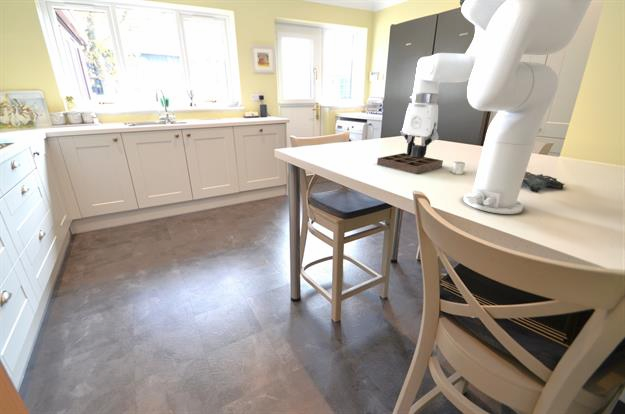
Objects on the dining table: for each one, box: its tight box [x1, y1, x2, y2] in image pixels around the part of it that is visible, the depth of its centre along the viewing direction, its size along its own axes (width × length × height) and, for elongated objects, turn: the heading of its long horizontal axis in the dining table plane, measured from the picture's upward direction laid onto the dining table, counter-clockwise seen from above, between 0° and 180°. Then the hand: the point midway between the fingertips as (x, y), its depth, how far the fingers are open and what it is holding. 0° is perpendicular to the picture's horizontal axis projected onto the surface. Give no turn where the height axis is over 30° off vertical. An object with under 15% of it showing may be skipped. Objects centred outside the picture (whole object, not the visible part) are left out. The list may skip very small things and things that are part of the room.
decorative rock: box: [522, 171, 565, 193], centre depth 87 cm, size 19×6×15 cm
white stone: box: [451, 161, 466, 175], centre depth 98 cm, size 4×4×4 cm
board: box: [376, 152, 444, 175], centre depth 107 cm, size 17×17×2 cm
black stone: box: [410, 144, 421, 157], centre depth 98 cm, size 4×4×4 cm
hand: (415, 155), depth 98 cm, fingers closed on black stone, 3 cm apart
